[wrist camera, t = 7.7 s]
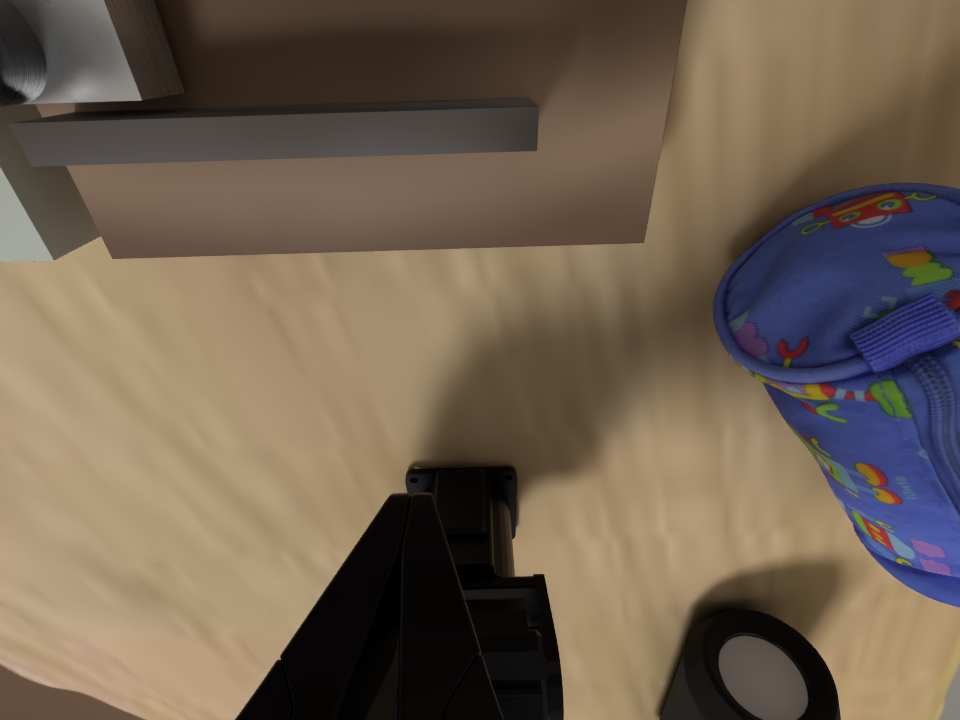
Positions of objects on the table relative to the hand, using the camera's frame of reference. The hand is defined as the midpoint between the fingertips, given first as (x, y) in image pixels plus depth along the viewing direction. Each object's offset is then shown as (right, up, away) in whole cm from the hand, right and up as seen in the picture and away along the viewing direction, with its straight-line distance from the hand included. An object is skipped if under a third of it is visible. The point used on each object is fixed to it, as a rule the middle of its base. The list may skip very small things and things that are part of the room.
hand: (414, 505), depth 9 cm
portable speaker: (+22, -26, +34) cm, 48 cm away
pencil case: (+20, +2, +15) cm, 25 cm away
